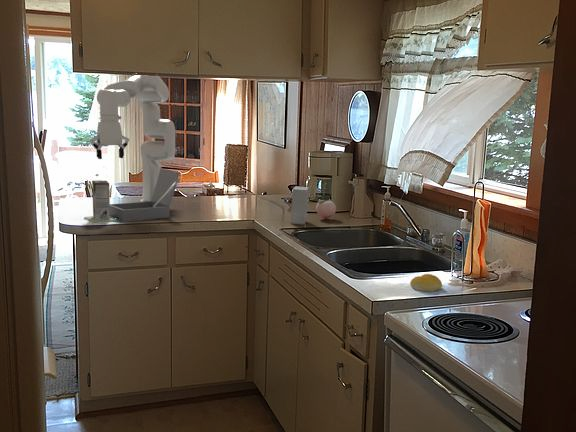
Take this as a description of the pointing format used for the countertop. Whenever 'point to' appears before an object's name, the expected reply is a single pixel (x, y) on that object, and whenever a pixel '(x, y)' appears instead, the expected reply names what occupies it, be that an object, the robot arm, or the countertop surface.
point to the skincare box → (299, 205)
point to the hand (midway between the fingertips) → (110, 158)
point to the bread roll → (426, 283)
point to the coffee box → (101, 200)
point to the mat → (99, 220)
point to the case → (150, 208)
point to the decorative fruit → (326, 208)
